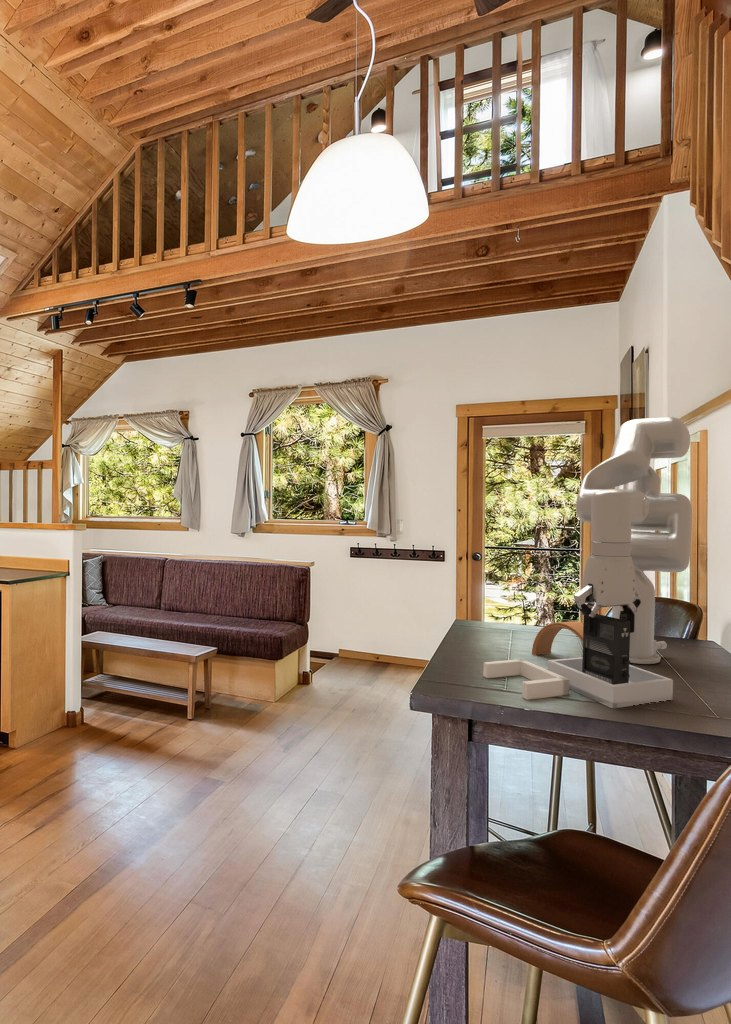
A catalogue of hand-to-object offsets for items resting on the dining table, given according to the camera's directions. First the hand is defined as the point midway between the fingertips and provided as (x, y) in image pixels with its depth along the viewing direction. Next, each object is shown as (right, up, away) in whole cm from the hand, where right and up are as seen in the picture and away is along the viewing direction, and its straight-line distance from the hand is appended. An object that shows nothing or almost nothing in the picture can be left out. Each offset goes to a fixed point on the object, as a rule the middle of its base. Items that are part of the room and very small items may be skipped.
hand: (608, 633), depth 110 cm
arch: (-1, -12, +17) cm, 21 cm away
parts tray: (-1, -11, -1) cm, 11 cm away
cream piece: (-17, -11, +1) cm, 20 cm away
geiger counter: (-1, -11, -1) cm, 10 cm away
